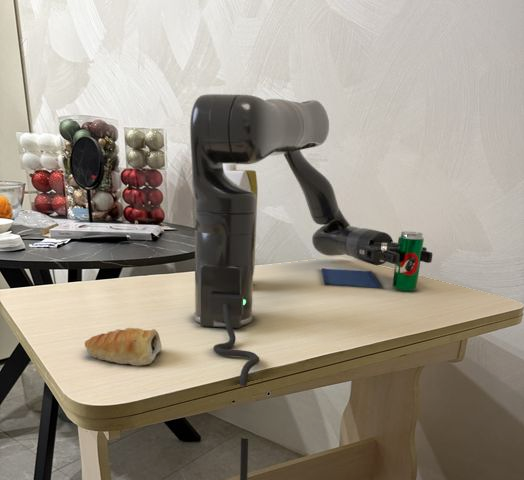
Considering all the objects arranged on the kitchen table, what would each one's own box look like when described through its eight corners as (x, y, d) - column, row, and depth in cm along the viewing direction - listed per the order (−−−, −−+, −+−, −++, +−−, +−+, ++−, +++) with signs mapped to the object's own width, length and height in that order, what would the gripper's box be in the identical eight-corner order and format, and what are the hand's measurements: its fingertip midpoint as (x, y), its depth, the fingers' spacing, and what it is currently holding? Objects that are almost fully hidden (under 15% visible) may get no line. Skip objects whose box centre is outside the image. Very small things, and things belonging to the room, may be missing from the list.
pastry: (77, 362, 65) (75, 333, 64) (97, 345, 71) (95, 318, 70) (151, 367, 65) (150, 338, 63) (164, 349, 71) (164, 322, 70)
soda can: (421, 291, 111) (429, 234, 107) (404, 293, 108) (412, 234, 104) (403, 285, 115) (411, 230, 111) (386, 287, 112) (394, 231, 108)
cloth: (380, 288, 112) (381, 285, 112) (324, 284, 112) (325, 282, 112) (370, 273, 127) (371, 271, 127) (321, 270, 127) (321, 268, 127)
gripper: (344, 229, 117) (389, 241, 103) (395, 229, 123) (444, 239, 109) (341, 263, 120) (384, 278, 106) (391, 260, 125) (438, 274, 112)
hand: (414, 258), depth 108 cm, fingers open, 8 cm apart
